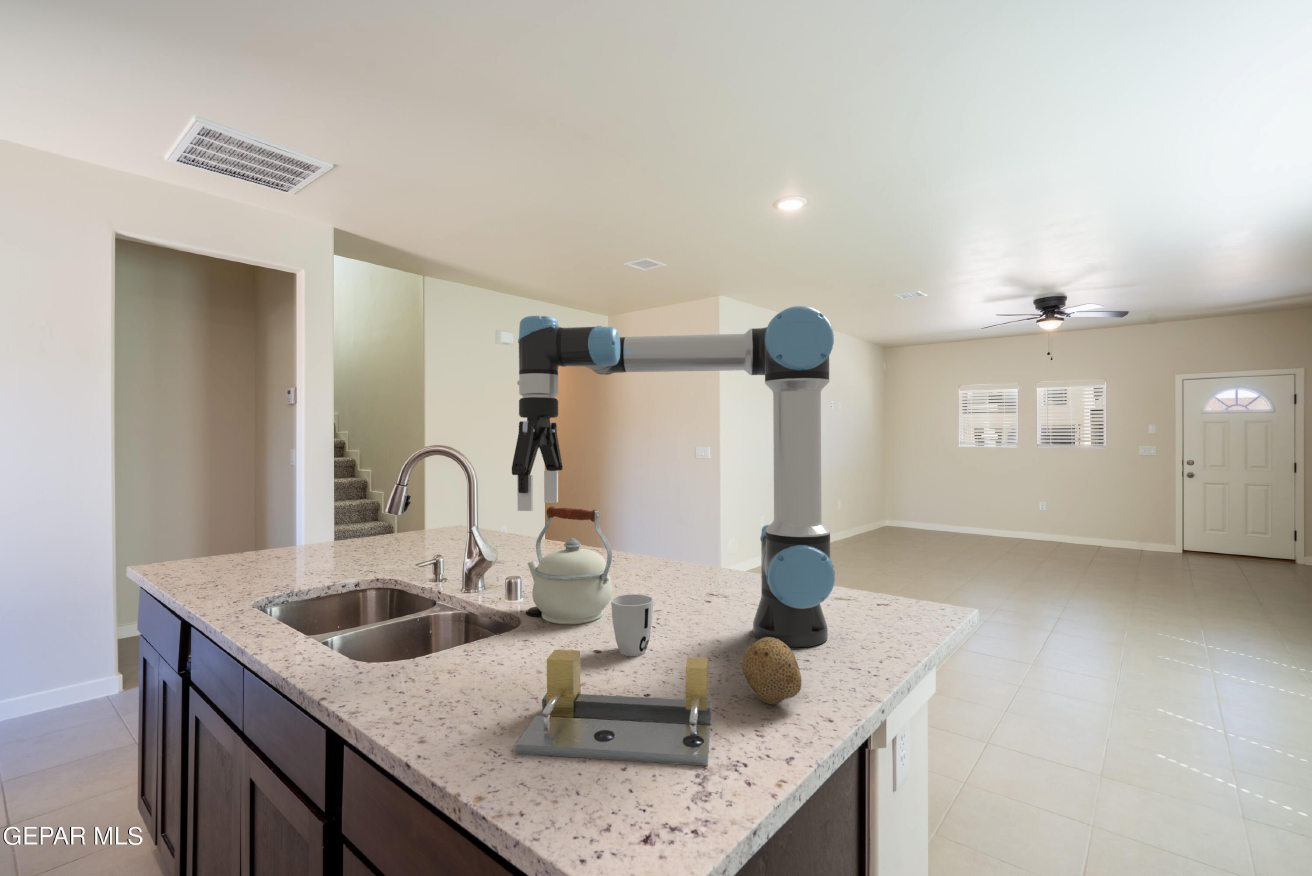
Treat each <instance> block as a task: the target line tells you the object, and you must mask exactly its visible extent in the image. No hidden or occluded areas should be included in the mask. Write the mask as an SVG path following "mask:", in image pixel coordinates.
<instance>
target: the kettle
mask: <svg viewBox="0 0 1312 876" xmlns="http://www.w3.org/2000/svg"><path fill="white" fill-rule="evenodd" d="M554 517H555V518H558V519H564V520H574V521H575V520H577V521H589V520H590V521H591V522H594V529H595V531H596V533H597V535H598V536H599V538H600V539H601V542H602V543H603V545H604V547H605V549H606V553H607V558H606V559H605V558H604V557H603V555H601V554H600V553H598V552H597V551H594V550H590V549H588V548H587V549H586V548H580V547H581V546H582V544H581V542H580V540H577V539H576V538H573V537H571V538H569V539H568V540H567V541H566V542H565V543H564V544H563V546H564V547H565V548H563V549H557V550H554V551H552V552H550V553H548V554H546V555H545V556H543V554H542V547H541V545H542V540H543V537H544V536H545V534H546V533H547V530H548V529H549V528H550V527H551V524H552V519H553V518H554ZM535 550H536V551H535V552H536V556H537V560H538V564H537V562H536V561H535V560H533V561H532V560H531V561H527V566H528V570H529V571H530V575H531V577H532V579H533V585H532V592H531V593H532V600H533V601H532V602H533V603H534V605H535V606H536V607H537V609H538V610H539V611H540V612H541V618H542V619H543V620H545V621H547V622H548V623H553V624H557V625H580V624H587V623H591V622H595V621H597V620H598V619H600V618H601V617H603V615H604V610H605V608H606V607H607V606H608V605H609V603H610V602H611V599H612V598H613V586H612V585H613V584H612V580H611V576H610V572H611V569H612V568H611V564H612V559H613V551H612V547H611V545H610V542H609V541H608V539H607V537H606V536H605V534H604V533H603V531H602V530H601V526H600V511H599V510H596V509H592V510H587V509H583V508H572V507H570V508H568V507H556V506H551V505H550V506H548V507H547V508H546V524H545V525H544V527H543V528H542V529H541V531H540V533H539V535H538V537H537V539H536V542H535Z"/></svg>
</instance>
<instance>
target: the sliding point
mask: <svg viewBox="0 0 1312 876" xmlns="http://www.w3.org/2000/svg"><path fill="white" fill-rule="evenodd" d="M581 687H582V684H581V650H574V649H573V650H571V649H569V650H568V649H554V650H553V651H552V653H550V655H549V656H548V657H547V658H546V693H547V695H546V694H545V695H546V707H545V709H544V710H543V711H542V710H541V716H543V717H544V731H548V730H550V717H564V718H574V717H573V716H574V700H575V698H576V696H577V694H582V689H581Z"/></svg>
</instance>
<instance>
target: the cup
mask: <svg viewBox="0 0 1312 876" xmlns="http://www.w3.org/2000/svg"><path fill="white" fill-rule="evenodd" d="M610 602H611V603H610V605H611V615H612V616H611V618H612V626H613V627H612V628H613V631H614V638H615V642H616V644H617V647H618V651H619V654H621V655H622V656H627V657H638V656H639V657H640V656H641V655H645V653H646V651H647V648H648V644H649V642H650V638H651V637H650V636H651V632H652V625H653V613H654V611H653V609H654V598H653V597H652V596H650V595H645V594H635V593H634V594H633V593H632V594H631V593H630V594H622V595H616V596H614V597H611V599H610Z"/></svg>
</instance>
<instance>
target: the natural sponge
mask: <svg viewBox="0 0 1312 876" xmlns="http://www.w3.org/2000/svg"><path fill="white" fill-rule="evenodd" d="M799 667H800V666H799V664H798V661H797V658H796V656H795V654H794V652H793V649H791V648H790V647H788V646H787V645H786V644H785V643H784V642H782V641H780V640H779V639H776V638H772V637H765V638H762V639H758V640H756V641H755V642H753V643H752V644H751V645H750V646H749V647H748V648H747V649H746V650H745V652H744V655H743V658H742V660H741V671H742V675H743V678H744V679H745V681H746V683H747V685H748V686H749V688H750V690H752V692H753V693H754V695H755V696H756V698H758V699H759V700H760V701H762V702H763V703H765V704H767V705H778V704H780V703H781V702H783V701H784V700H788V699H791V698H794V697H795V696H796V695H798V694H799V693H800V691H801V688H802V674H801V671H800V668H799Z"/></svg>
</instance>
